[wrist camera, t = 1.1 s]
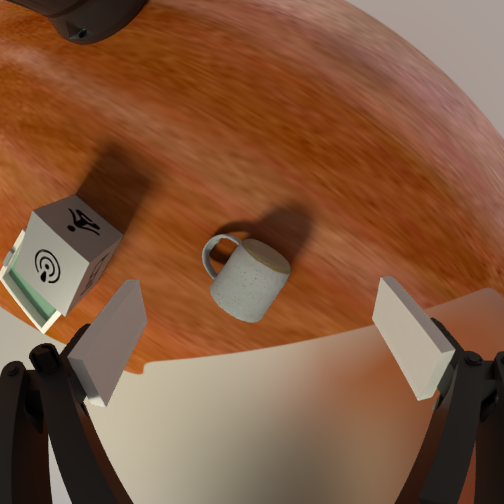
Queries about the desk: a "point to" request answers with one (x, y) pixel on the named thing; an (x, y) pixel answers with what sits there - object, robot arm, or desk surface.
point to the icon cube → (66, 251)
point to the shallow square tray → (32, 295)
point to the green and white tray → (18, 294)
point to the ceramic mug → (247, 277)
